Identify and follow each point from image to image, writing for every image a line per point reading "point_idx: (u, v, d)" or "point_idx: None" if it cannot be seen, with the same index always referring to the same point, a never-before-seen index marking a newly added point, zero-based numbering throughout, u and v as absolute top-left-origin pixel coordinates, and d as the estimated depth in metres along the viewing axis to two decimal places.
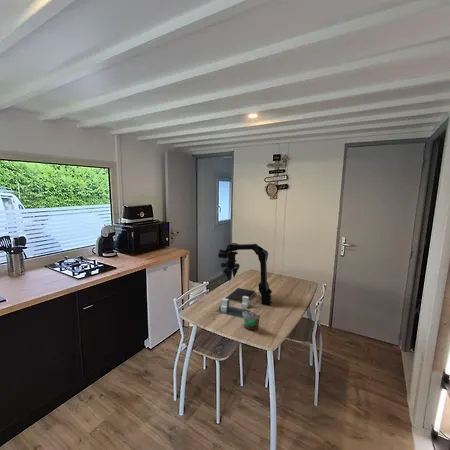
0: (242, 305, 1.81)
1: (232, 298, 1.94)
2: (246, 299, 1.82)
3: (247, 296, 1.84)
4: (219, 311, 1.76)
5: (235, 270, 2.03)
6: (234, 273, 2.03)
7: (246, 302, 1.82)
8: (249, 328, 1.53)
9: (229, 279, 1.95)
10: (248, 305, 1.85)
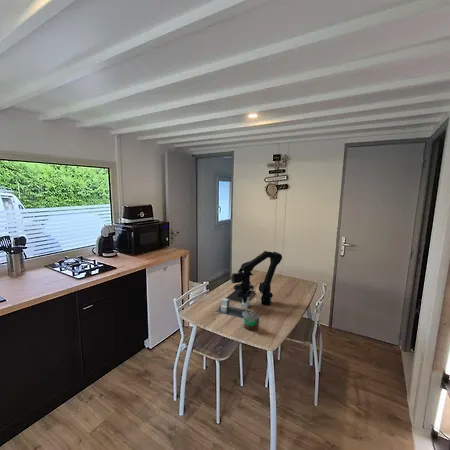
0: (242, 305, 1.81)
1: (232, 298, 1.94)
2: None
3: None
4: (219, 311, 1.76)
5: (248, 294, 1.84)
6: (247, 297, 1.85)
7: (246, 302, 1.82)
8: (249, 328, 1.53)
9: (245, 302, 1.81)
10: (248, 305, 1.85)
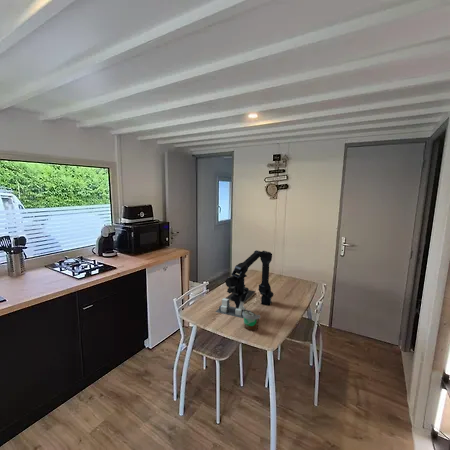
0: (236, 311, 1.72)
1: None
2: (240, 304, 1.72)
3: None
4: (219, 311, 1.76)
5: (244, 295, 1.77)
6: (242, 299, 1.77)
7: (240, 308, 1.72)
8: (249, 328, 1.53)
9: (237, 307, 1.69)
10: None
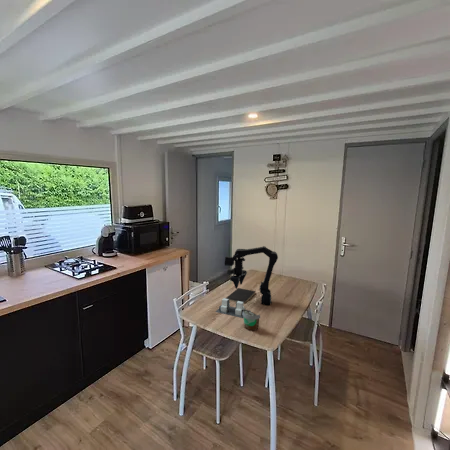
0: (236, 311, 1.72)
1: (232, 298, 1.94)
2: (240, 304, 1.72)
3: None
4: (219, 311, 1.76)
5: (242, 277, 1.95)
6: (241, 280, 1.95)
7: (240, 308, 1.72)
8: (249, 328, 1.53)
9: (236, 287, 1.86)
10: None
